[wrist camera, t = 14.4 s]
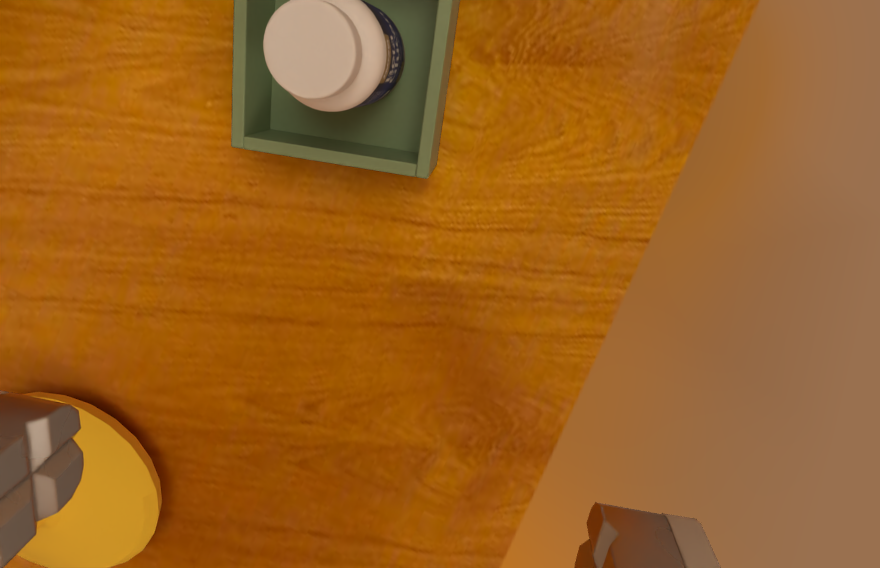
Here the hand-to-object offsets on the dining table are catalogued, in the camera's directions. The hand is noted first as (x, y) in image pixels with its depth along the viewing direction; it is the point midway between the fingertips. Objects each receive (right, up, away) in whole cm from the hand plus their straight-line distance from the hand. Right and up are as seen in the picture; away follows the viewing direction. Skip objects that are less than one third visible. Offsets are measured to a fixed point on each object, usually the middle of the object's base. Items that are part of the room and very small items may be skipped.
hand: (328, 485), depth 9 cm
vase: (-26, -11, +38) cm, 47 cm away
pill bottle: (-3, +16, +25) cm, 30 cm away
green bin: (-3, +16, +25) cm, 30 cm away
